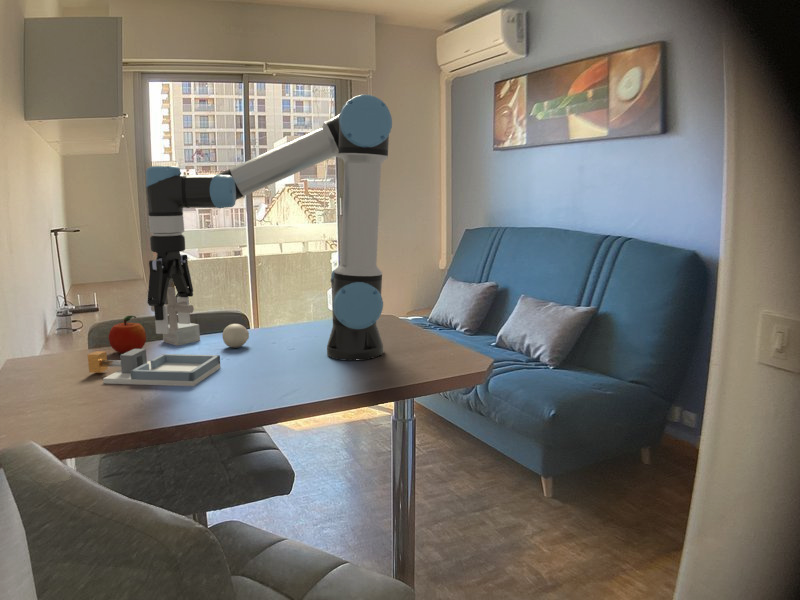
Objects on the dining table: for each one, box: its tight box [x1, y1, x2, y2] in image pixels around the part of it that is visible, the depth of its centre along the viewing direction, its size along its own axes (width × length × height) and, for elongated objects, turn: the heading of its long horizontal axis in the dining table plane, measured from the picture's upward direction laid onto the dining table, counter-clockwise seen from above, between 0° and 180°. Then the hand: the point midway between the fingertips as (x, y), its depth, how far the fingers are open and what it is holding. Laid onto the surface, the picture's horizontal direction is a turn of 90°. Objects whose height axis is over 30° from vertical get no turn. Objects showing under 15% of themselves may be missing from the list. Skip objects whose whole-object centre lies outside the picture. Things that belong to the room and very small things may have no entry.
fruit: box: [108, 315, 147, 355], centre depth 174 cm, size 10×10×10 cm
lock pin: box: [87, 350, 121, 374], centre depth 153 cm, size 11×3×4 cm, turn 82°
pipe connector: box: [150, 286, 195, 330], centre depth 149 cm, size 10×10×10 cm
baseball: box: [222, 323, 250, 349], centre depth 178 cm, size 7×7×7 cm
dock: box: [102, 348, 222, 387], centre depth 152 cm, size 22×15×6 cm
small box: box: [162, 322, 201, 347], centre depth 186 cm, size 8×8×5 cm
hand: (173, 328), depth 150 cm, fingers closed on pipe connector, 10 cm apart
